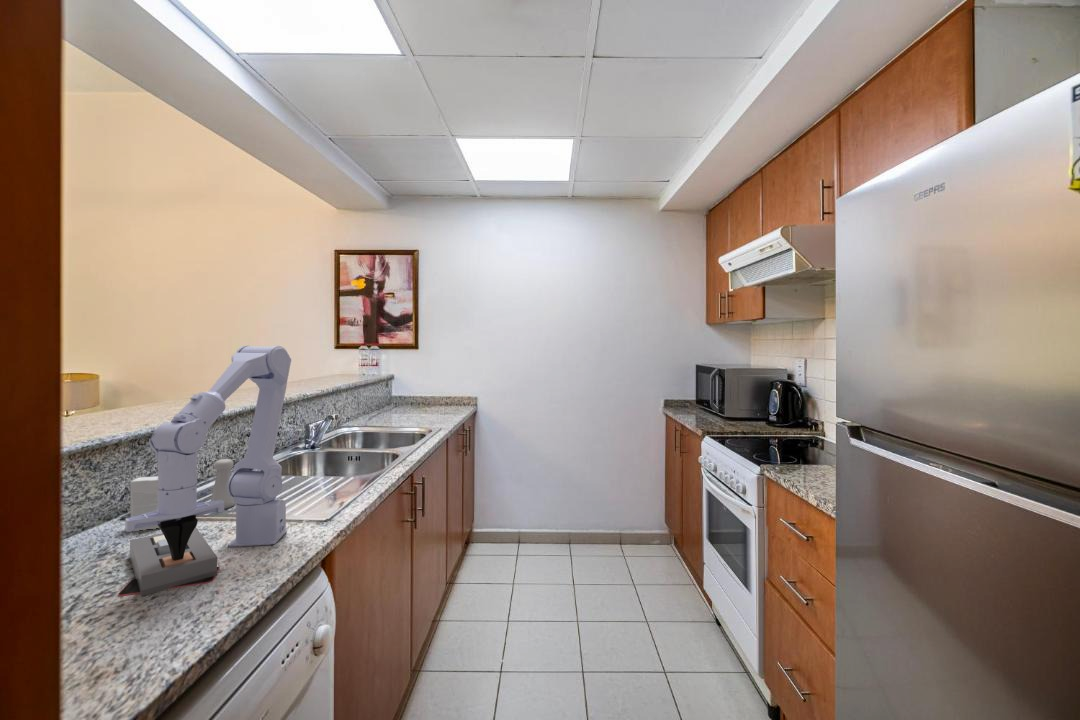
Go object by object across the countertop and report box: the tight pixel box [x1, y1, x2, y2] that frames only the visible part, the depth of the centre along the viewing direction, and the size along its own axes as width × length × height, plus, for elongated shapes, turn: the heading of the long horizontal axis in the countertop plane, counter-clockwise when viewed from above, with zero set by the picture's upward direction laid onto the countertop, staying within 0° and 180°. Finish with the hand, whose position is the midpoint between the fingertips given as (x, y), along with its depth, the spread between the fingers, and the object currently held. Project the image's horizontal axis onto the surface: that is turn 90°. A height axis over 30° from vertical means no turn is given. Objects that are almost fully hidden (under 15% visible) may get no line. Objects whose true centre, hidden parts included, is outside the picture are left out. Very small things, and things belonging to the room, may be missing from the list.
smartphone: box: [117, 566, 221, 598], centre depth 86 cm, size 7×1×14 cm
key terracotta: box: [162, 552, 193, 568], centre depth 87 cm, size 4×4×2 cm
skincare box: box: [129, 475, 159, 532], centre depth 112 cm, size 6×4×12 cm
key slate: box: [158, 539, 171, 555], centre depth 92 cm, size 4×4×2 cm
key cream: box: [153, 535, 166, 545], centre depth 97 cm, size 4×4×2 cm
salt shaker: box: [210, 458, 235, 510], centre depth 128 cm, size 6×6×13 cm
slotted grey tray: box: [129, 526, 218, 597], centre depth 92 cm, size 22×11×4 cm, turn 45°
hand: (177, 558), depth 87 cm, fingers closed, pressing on key terracotta
